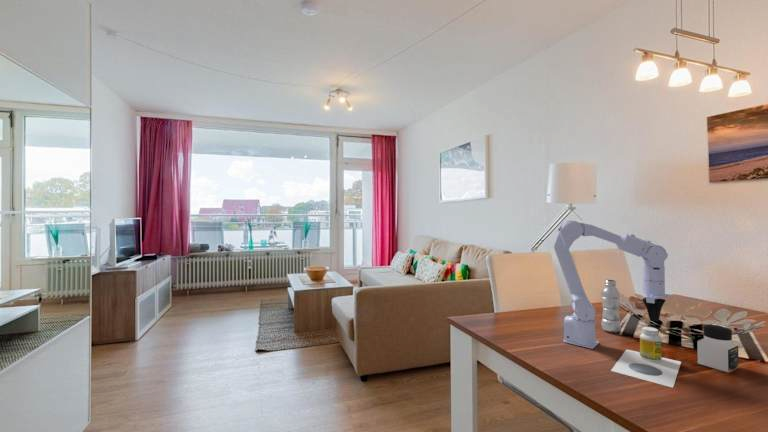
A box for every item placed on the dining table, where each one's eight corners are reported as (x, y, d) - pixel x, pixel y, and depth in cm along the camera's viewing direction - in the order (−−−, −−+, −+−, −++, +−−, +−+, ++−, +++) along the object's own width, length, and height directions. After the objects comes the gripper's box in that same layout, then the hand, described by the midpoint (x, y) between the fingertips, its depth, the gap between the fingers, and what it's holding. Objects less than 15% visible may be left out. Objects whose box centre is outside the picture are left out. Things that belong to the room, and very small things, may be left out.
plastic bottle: (603, 333, 130) (602, 281, 130) (599, 327, 136) (598, 278, 136) (623, 335, 128) (622, 282, 128) (618, 329, 134) (617, 279, 134)
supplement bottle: (644, 354, 110) (643, 324, 110) (664, 359, 106) (664, 329, 106) (637, 358, 107) (636, 328, 107) (657, 364, 103) (657, 332, 103)
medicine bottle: (729, 373, 97) (728, 331, 97) (697, 363, 103) (696, 324, 103) (739, 367, 100) (738, 327, 100) (707, 358, 106) (707, 321, 106)
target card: (610, 372, 99) (610, 370, 99) (626, 350, 114) (626, 349, 114) (673, 389, 89) (673, 387, 89) (681, 362, 104) (681, 361, 104)
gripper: (666, 285, 104) (666, 328, 104) (671, 278, 114) (672, 318, 114) (638, 282, 109) (638, 323, 109) (645, 276, 120) (646, 314, 120)
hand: (654, 320), depth 112 cm, fingers closed
